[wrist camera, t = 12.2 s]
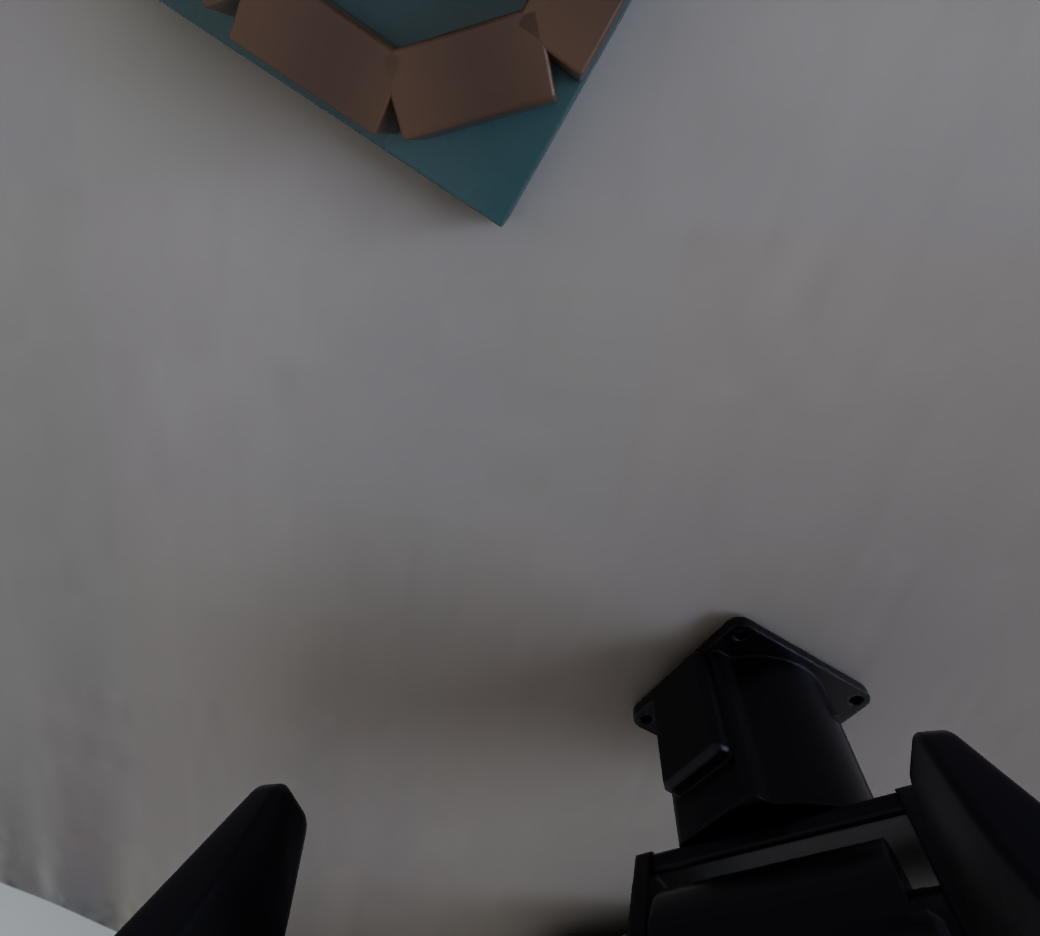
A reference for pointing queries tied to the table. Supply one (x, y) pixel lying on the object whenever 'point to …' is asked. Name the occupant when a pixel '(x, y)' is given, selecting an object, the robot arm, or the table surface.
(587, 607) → the table surface
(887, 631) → the table surface
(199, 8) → the post stand
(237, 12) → the ring
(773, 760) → the robot arm
